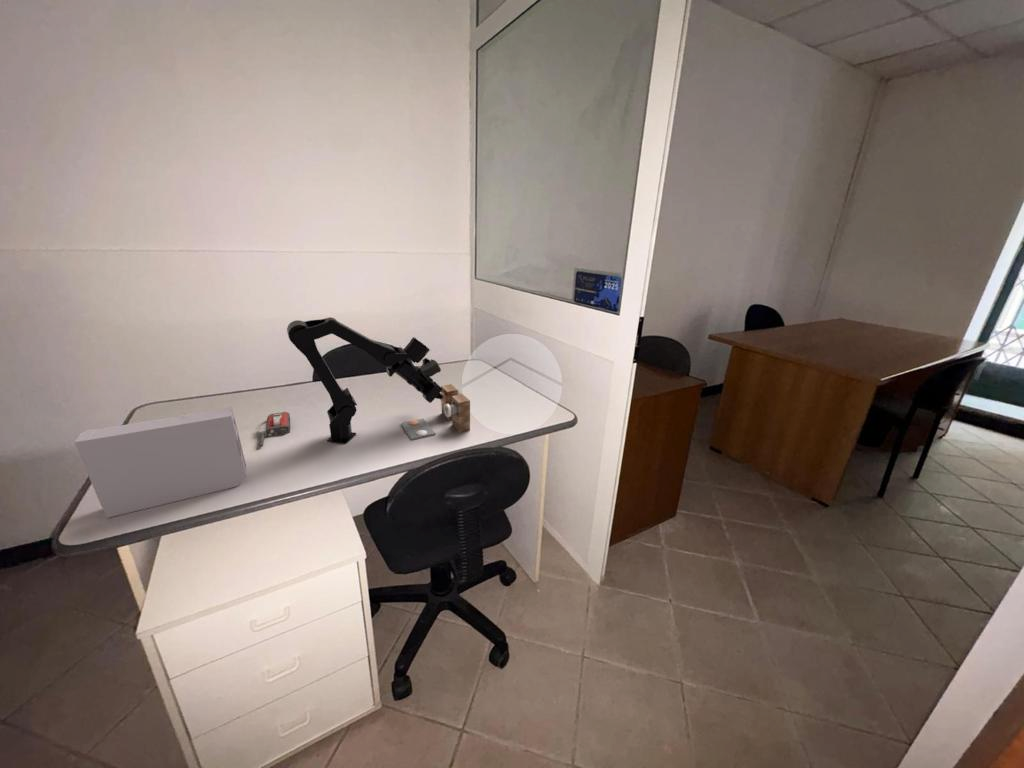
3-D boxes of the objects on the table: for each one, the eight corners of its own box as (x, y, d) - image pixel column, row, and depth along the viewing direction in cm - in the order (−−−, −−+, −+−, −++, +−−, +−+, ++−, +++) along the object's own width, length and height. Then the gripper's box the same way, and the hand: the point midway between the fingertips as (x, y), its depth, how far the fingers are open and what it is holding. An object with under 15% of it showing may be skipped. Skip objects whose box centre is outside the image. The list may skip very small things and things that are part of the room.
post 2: (459, 432, 133) (458, 402, 129) (452, 424, 138) (451, 396, 134) (470, 429, 135) (470, 400, 131) (462, 422, 140) (462, 394, 136)
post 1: (447, 420, 141) (447, 391, 137) (441, 413, 146) (440, 385, 142) (458, 417, 143) (458, 389, 139) (451, 411, 148) (451, 384, 144)
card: (411, 440, 127) (411, 438, 127) (400, 424, 137) (400, 422, 137) (435, 434, 131) (435, 432, 131) (423, 419, 141) (423, 417, 140)
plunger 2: (449, 419, 131) (448, 407, 129) (444, 413, 134) (443, 402, 132) (467, 415, 134) (467, 403, 132) (462, 410, 137) (462, 398, 136)
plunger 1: (444, 406, 140) (444, 394, 138) (440, 401, 143) (439, 390, 141) (462, 402, 143) (462, 391, 141) (457, 398, 146) (457, 387, 145)
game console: (112, 504, 94) (82, 430, 87) (248, 472, 108) (232, 406, 100) (106, 518, 90) (73, 442, 82) (248, 484, 103) (231, 415, 96)
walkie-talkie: (261, 422, 135) (257, 450, 119) (259, 410, 133) (254, 437, 117) (291, 417, 139) (290, 444, 123) (288, 406, 137) (288, 432, 121)
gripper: (435, 362, 124) (467, 389, 134) (416, 346, 139) (446, 372, 148) (411, 389, 123) (445, 415, 133) (395, 370, 138) (427, 394, 147)
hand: (441, 397), depth 140 cm, fingers closed, pressing on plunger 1
